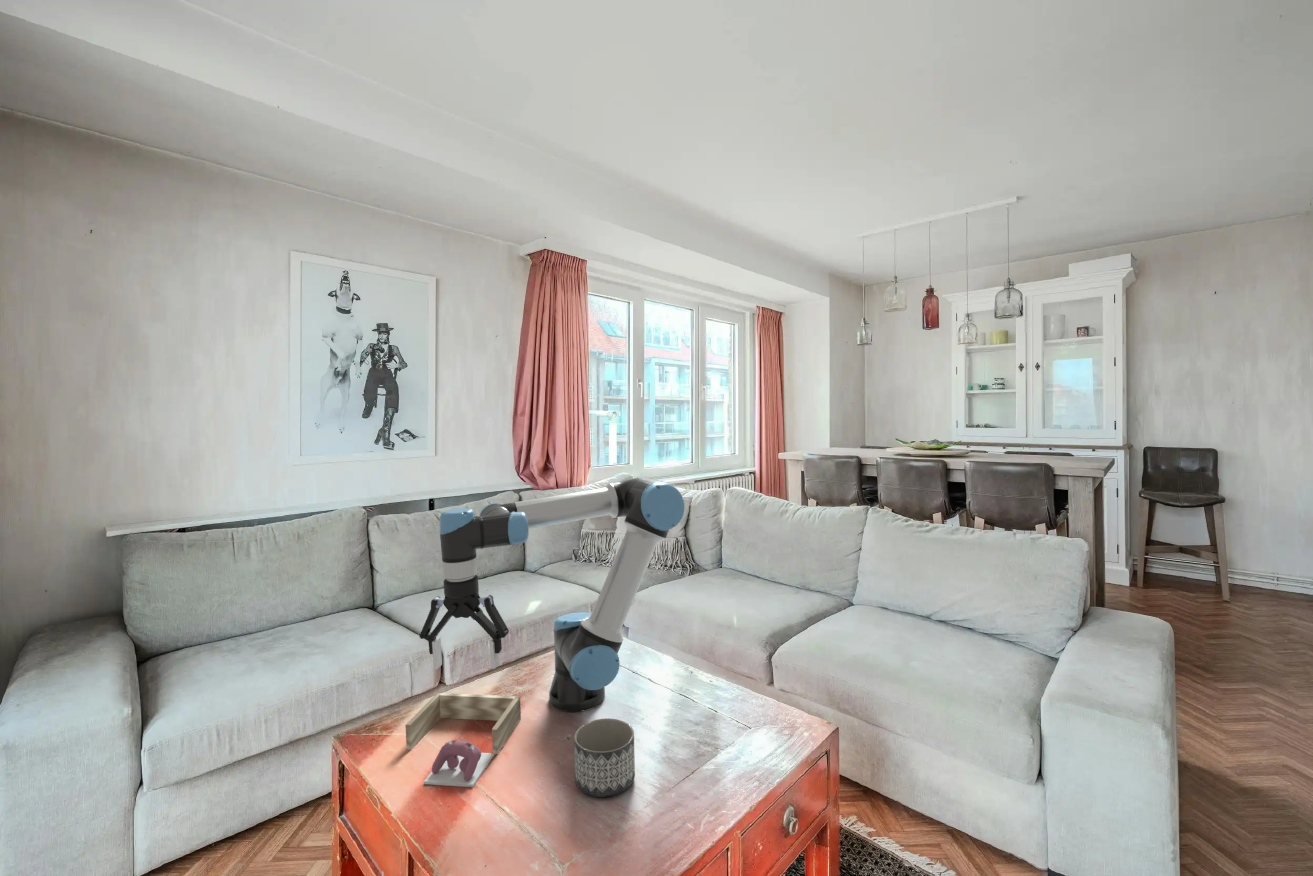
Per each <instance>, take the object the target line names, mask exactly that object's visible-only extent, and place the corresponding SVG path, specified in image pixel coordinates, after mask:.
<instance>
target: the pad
mask: <svg viewBox="0 0 1313 876" xmlns="http://www.w3.org/2000/svg"><path fill="white" fill-rule="evenodd" d="M493 756H494V757H495V755H494V753H493V752H481V757H480V760H479V761H478V764H477V767H476V769H475V772H474V774H473V775H472V777H471V778H470V779H469V780H468V781H465V780H464V773H465V771H461V770H460V768H459V765H460V762H461V760H462V759H464V757H461V756H458V758H459V764H458V766H457V767H456V768H449V767H448V765H447V760H446V761H445V763H444V765H443V766H442V768H441V769H440V770H439V771H438V772H437V773H436V774H433V773H432V771H431V772H430V773H429V774H428V775H427V777H426V778H425V779H424V780H423V784H424V785H433V786H446V787H447V786H448V787H461V788H462V787H463V788H465V787H467V788H474V787H475V786H476V784H477V782H478V781H479V779H480V778H481V776H482V775H483V773H484V772H483V771H486V769H487V767H488V766H489V764H490V763H489V762H491V761H492V760H491V759H493V758H494V757H493ZM492 757H493V758H492ZM490 760H491V761H490ZM488 763H489V764H488ZM487 765H488V766H487ZM485 768H486V769H485Z"/></svg>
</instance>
